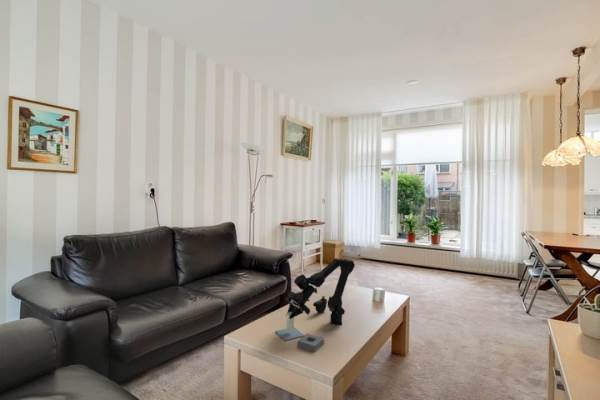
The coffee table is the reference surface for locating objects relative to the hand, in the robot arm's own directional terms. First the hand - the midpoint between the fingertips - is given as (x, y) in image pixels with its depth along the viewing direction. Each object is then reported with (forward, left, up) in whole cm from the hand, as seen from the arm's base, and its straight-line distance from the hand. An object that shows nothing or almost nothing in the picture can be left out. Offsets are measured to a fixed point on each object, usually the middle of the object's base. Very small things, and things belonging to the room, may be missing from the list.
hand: (288, 317), depth 165 cm
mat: (-1, -1, -10) cm, 10 cm away
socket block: (-13, +10, -10) cm, 19 cm away
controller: (-18, -34, -10) cm, 40 cm away
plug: (-1, -1, -7) cm, 7 cm away
